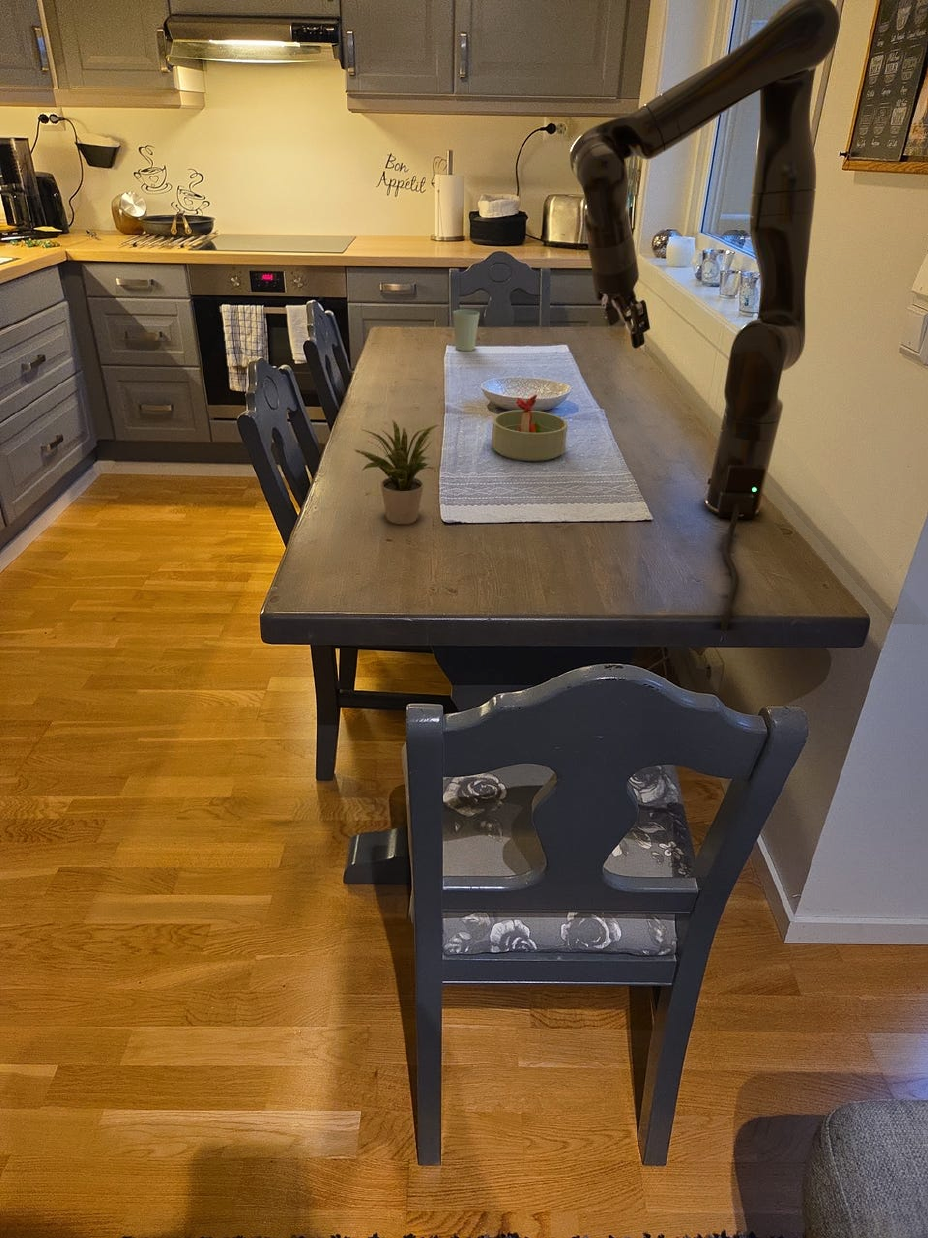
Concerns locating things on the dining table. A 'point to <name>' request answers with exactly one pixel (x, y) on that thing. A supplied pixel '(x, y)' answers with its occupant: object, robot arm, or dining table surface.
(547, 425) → the bowl
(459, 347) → the cup
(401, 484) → the house plant
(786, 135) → the robot arm
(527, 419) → the bird rattle
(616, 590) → the dining table surface
